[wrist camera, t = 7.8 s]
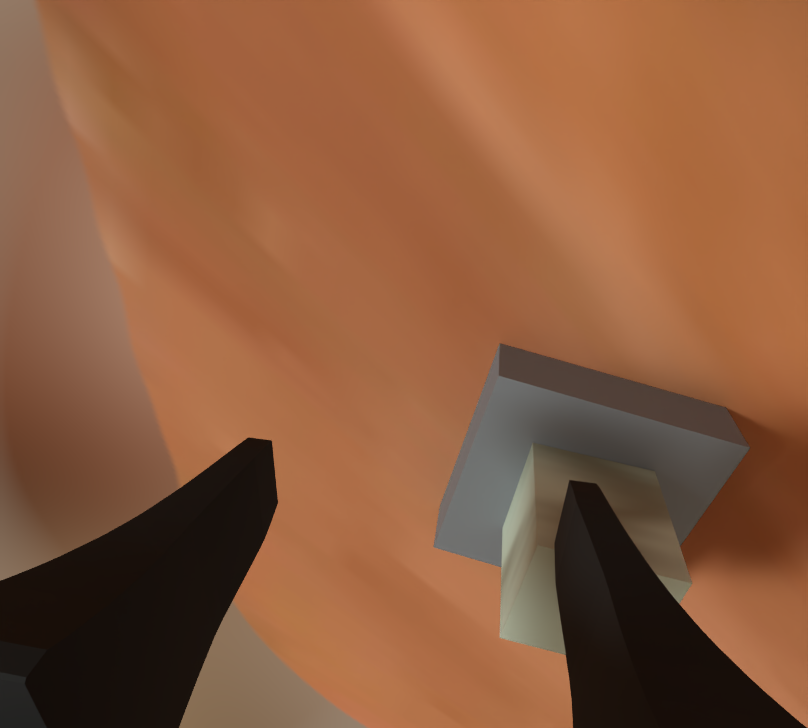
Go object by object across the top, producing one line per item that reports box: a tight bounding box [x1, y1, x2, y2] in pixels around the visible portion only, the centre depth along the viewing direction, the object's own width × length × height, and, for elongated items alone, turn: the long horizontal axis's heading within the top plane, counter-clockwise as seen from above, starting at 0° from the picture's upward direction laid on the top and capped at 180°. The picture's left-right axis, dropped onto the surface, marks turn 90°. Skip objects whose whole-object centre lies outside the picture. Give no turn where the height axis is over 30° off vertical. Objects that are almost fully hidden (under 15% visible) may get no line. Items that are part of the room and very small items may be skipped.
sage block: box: [500, 443, 692, 655], centre depth 20 cm, size 4×4×5 cm
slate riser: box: [434, 344, 750, 567], centre depth 23 cm, size 9×9×3 cm
